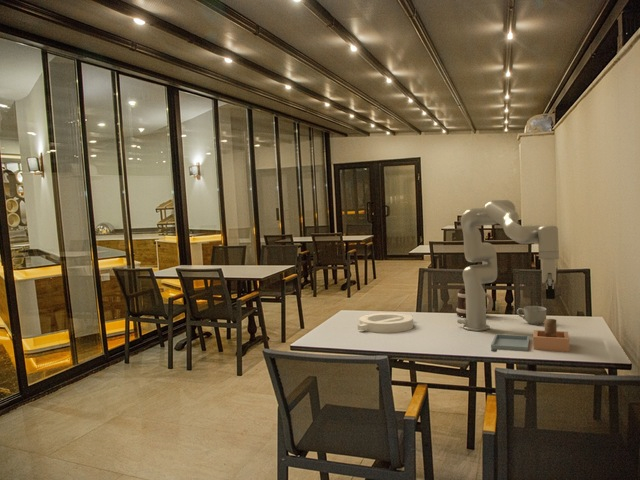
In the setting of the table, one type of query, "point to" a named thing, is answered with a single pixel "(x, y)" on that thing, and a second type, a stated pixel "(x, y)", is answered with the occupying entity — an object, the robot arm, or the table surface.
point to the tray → (510, 342)
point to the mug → (462, 303)
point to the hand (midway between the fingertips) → (550, 297)
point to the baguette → (550, 328)
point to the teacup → (533, 314)
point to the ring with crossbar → (385, 322)
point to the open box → (551, 341)
